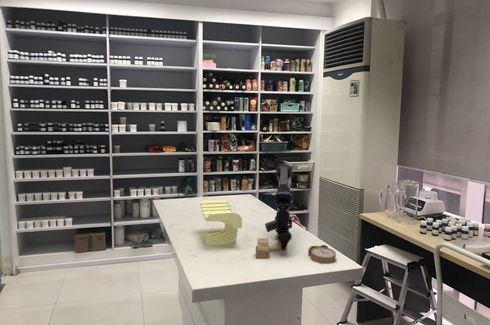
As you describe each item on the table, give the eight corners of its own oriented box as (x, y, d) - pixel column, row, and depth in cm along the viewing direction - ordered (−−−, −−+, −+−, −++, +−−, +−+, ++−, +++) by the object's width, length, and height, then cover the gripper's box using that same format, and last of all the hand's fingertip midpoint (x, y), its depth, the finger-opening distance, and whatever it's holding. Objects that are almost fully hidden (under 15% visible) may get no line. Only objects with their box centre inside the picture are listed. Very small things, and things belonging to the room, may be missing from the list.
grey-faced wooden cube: (277, 248, 190) (277, 238, 190) (286, 248, 190) (286, 238, 190) (278, 251, 186) (278, 241, 185) (287, 251, 186) (287, 241, 185)
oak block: (257, 246, 181) (257, 238, 181) (268, 246, 181) (268, 238, 181) (257, 250, 176) (257, 241, 176) (268, 250, 176) (268, 241, 176)
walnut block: (255, 254, 182) (255, 246, 182) (268, 254, 182) (268, 246, 182) (256, 259, 176) (256, 250, 176) (269, 259, 176) (269, 250, 176)
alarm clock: (317, 258, 169) (304, 242, 183) (316, 268, 171) (303, 251, 185) (340, 256, 172) (326, 240, 186) (339, 266, 174) (324, 249, 187)
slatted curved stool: (241, 248, 189) (241, 212, 187) (209, 251, 185) (209, 214, 183) (228, 230, 218) (228, 199, 216) (200, 232, 214) (200, 200, 212)
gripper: (264, 211, 195) (264, 241, 197) (267, 221, 177) (266, 254, 179) (287, 211, 195) (286, 241, 197) (291, 221, 177) (291, 254, 179)
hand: (282, 247), depth 188 cm, fingers open, 8 cm apart
